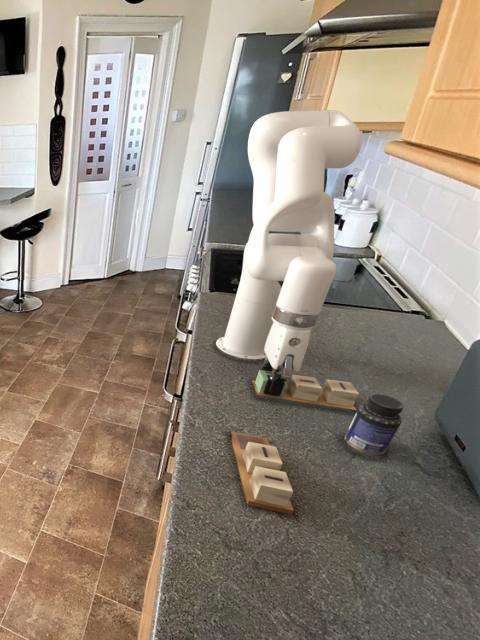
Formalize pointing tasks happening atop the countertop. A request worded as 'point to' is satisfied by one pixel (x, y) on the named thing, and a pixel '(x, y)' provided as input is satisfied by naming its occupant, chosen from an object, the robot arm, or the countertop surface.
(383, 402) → the pill bottle
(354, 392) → the word
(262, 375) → the green number cube
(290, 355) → the robot arm
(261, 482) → the word
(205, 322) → the countertop surface
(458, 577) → the countertop surface
